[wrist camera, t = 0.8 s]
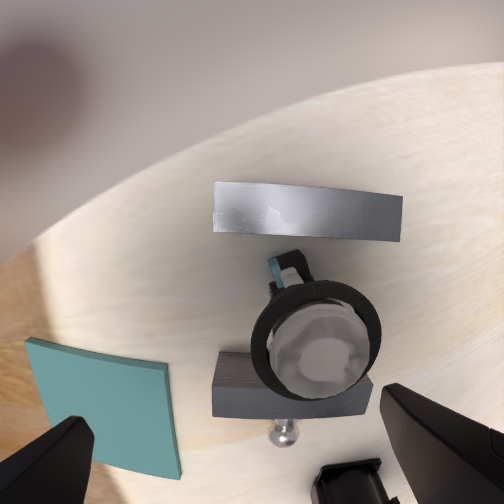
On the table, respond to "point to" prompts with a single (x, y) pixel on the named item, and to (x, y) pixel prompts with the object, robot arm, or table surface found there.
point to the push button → (313, 334)
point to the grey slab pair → (296, 224)
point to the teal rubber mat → (110, 404)
